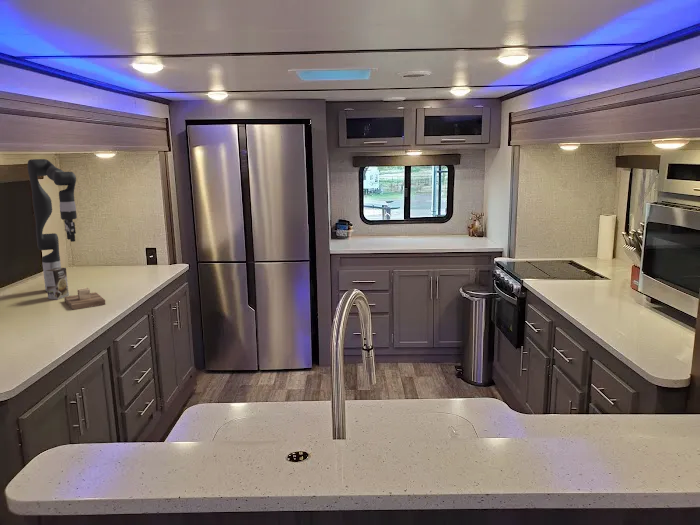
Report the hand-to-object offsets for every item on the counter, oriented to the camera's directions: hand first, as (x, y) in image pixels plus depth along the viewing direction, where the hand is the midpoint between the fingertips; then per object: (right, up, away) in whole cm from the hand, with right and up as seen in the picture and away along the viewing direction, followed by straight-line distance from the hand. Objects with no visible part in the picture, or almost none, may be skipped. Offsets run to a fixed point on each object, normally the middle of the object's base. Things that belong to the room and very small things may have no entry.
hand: (71, 240), depth 293 cm
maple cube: (+6, -31, +1) cm, 32 cm away
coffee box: (-13, -31, +13) cm, 36 cm away
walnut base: (+6, -33, +2) cm, 34 cm away
